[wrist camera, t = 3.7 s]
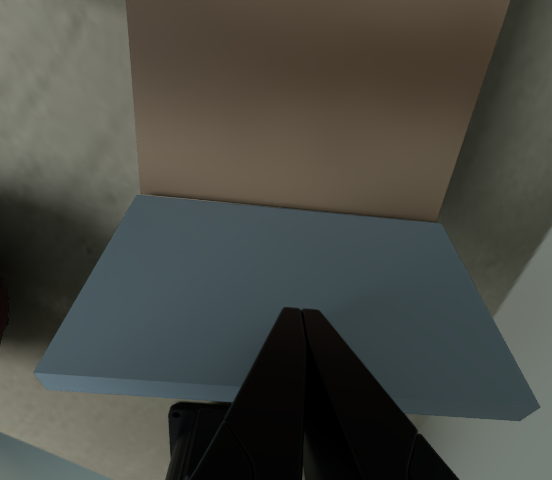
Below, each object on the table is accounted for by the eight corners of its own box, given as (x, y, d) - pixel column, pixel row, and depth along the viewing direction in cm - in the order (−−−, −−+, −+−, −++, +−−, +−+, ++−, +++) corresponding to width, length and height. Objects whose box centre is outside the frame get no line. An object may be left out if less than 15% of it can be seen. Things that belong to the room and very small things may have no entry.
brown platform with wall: (408, 196, 16) (478, 261, 10) (164, 172, 15) (102, 227, 10) (479, -55, 12) (659, -166, 6) (153, -99, 11) (37, -264, 6)
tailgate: (429, 245, 13) (512, 425, 8) (141, 219, 13) (51, 395, 8) (441, 223, 12) (540, 407, 8) (136, 194, 12) (33, 372, 7)
